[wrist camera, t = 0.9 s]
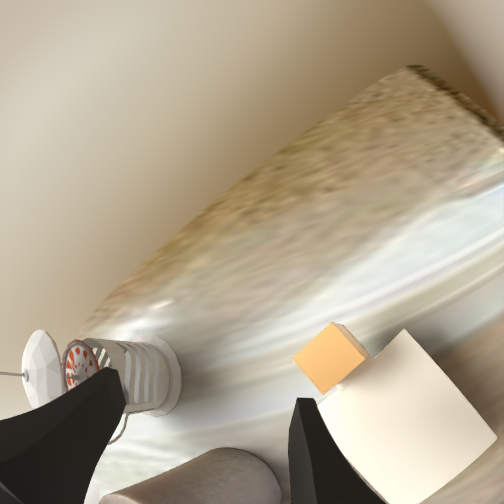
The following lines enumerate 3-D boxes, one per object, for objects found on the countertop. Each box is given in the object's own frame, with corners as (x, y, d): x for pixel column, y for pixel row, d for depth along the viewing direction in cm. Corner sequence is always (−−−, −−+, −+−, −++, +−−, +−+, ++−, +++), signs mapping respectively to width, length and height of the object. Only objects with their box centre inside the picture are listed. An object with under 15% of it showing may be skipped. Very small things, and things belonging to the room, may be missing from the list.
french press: (174, 326, 30) (-73, 273, 9) (193, 432, 26) (-58, 470, 5) (117, 340, 34) (-76, 304, 12) (131, 429, 29) (-66, 439, 8)
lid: (495, 435, 12) (515, 455, 8) (400, 510, 13) (398, 542, 9) (372, 296, 19) (368, 285, 15) (282, 378, 20) (256, 387, 16)
